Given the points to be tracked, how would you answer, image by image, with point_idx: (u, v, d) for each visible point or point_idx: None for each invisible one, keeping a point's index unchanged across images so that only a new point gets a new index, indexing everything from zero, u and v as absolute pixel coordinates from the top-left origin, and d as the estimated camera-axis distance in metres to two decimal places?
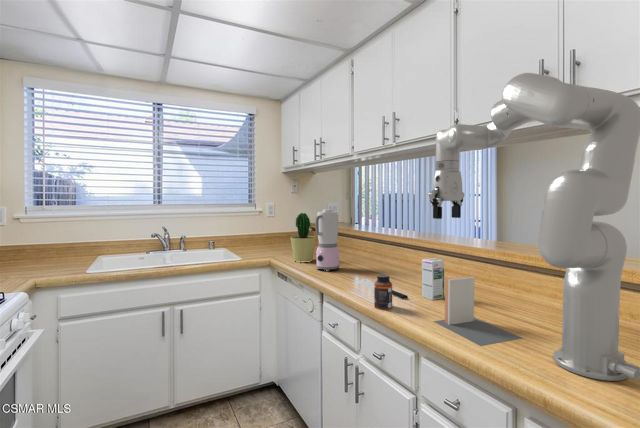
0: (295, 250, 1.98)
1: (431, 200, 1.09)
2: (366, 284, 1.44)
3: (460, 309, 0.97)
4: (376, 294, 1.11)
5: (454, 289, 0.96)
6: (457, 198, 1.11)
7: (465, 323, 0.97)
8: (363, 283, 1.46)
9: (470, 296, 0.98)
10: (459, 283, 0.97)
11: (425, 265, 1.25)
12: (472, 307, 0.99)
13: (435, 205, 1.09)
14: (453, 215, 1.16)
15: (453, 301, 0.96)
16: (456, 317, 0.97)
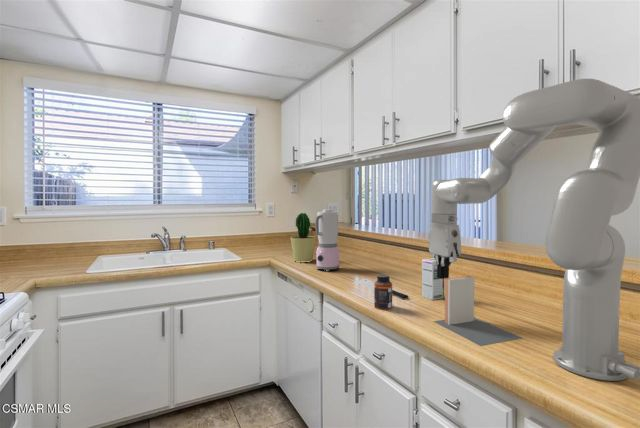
0: (295, 250, 1.98)
1: None
2: (366, 284, 1.44)
3: (460, 309, 0.97)
4: (376, 294, 1.11)
5: (454, 289, 0.96)
6: None
7: (465, 323, 0.97)
8: (363, 283, 1.46)
9: (470, 296, 0.98)
10: (459, 283, 0.97)
11: (425, 265, 1.25)
12: (472, 307, 0.99)
13: (447, 265, 1.03)
14: None
15: (453, 301, 0.96)
16: (456, 317, 0.97)
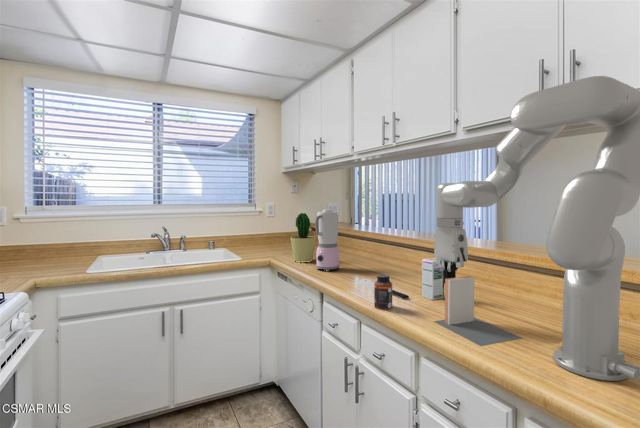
0: (295, 250, 1.98)
1: None
2: (366, 284, 1.44)
3: (460, 309, 0.97)
4: (376, 294, 1.11)
5: (454, 289, 0.96)
6: None
7: (465, 323, 0.97)
8: (363, 283, 1.46)
9: (470, 296, 0.98)
10: (459, 283, 0.97)
11: (425, 265, 1.25)
12: (472, 307, 0.99)
13: (454, 270, 1.01)
14: None
15: (453, 301, 0.96)
16: (456, 317, 0.97)
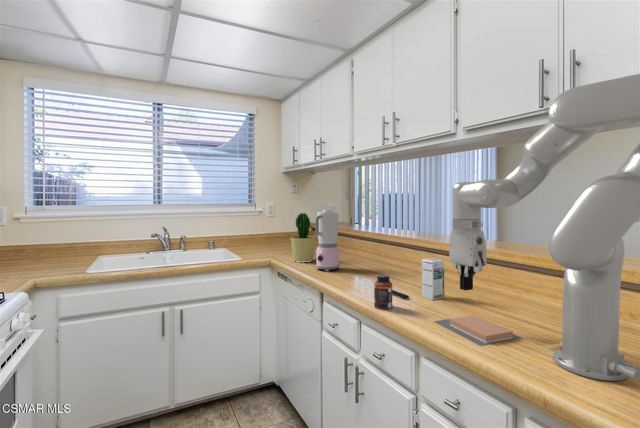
0: (295, 250, 1.98)
1: None
2: (367, 284, 1.44)
3: None
4: (376, 294, 1.11)
5: None
6: None
7: None
8: (364, 283, 1.46)
9: None
10: None
11: (425, 265, 1.25)
12: None
13: (471, 275, 0.94)
14: None
15: None
16: None
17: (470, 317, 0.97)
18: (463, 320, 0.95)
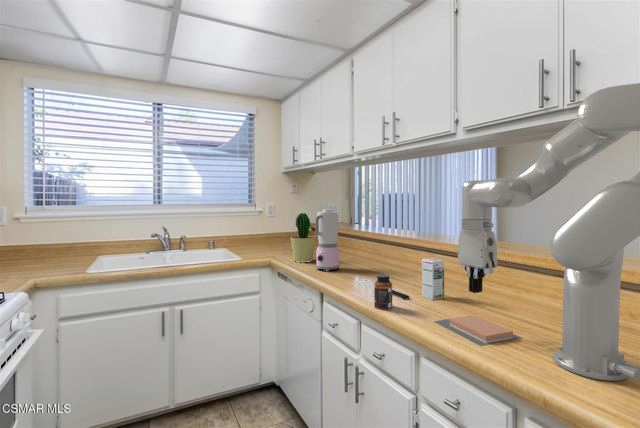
0: (295, 250, 1.98)
1: None
2: (367, 284, 1.44)
3: None
4: (376, 294, 1.11)
5: None
6: None
7: None
8: (364, 283, 1.46)
9: None
10: None
11: (425, 265, 1.25)
12: None
13: (481, 277, 0.91)
14: None
15: None
16: None
17: (470, 317, 0.97)
18: (463, 320, 0.95)
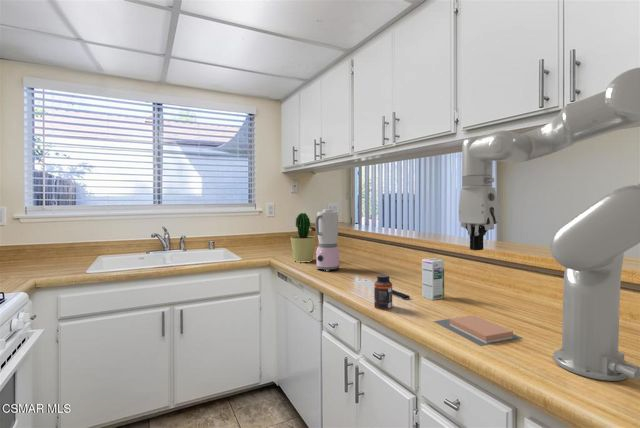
0: (295, 250, 1.98)
1: None
2: (367, 284, 1.44)
3: None
4: (376, 294, 1.11)
5: None
6: None
7: None
8: (364, 283, 1.46)
9: None
10: None
11: (425, 265, 1.25)
12: None
13: (482, 234, 0.90)
14: None
15: None
16: None
17: (470, 317, 0.97)
18: (463, 320, 0.95)
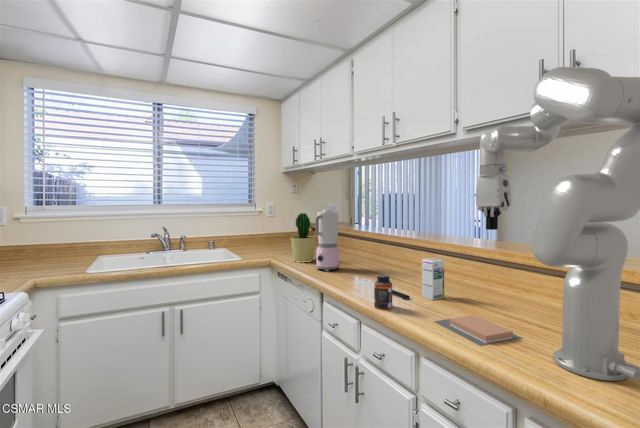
0: (295, 250, 1.98)
1: None
2: (367, 284, 1.44)
3: None
4: (376, 294, 1.11)
5: None
6: None
7: None
8: (364, 283, 1.46)
9: None
10: None
11: (425, 265, 1.25)
12: None
13: (497, 215, 1.05)
14: None
15: None
16: None
17: (470, 317, 0.97)
18: (463, 320, 0.95)
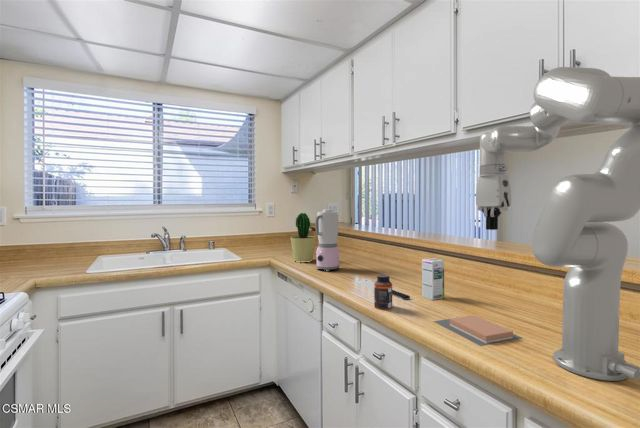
0: (295, 250, 1.98)
1: None
2: (367, 284, 1.44)
3: None
4: (376, 294, 1.11)
5: None
6: None
7: None
8: (364, 283, 1.45)
9: None
10: None
11: (425, 265, 1.25)
12: None
13: (497, 216, 1.05)
14: None
15: None
16: None
17: (470, 317, 0.97)
18: (463, 320, 0.95)
